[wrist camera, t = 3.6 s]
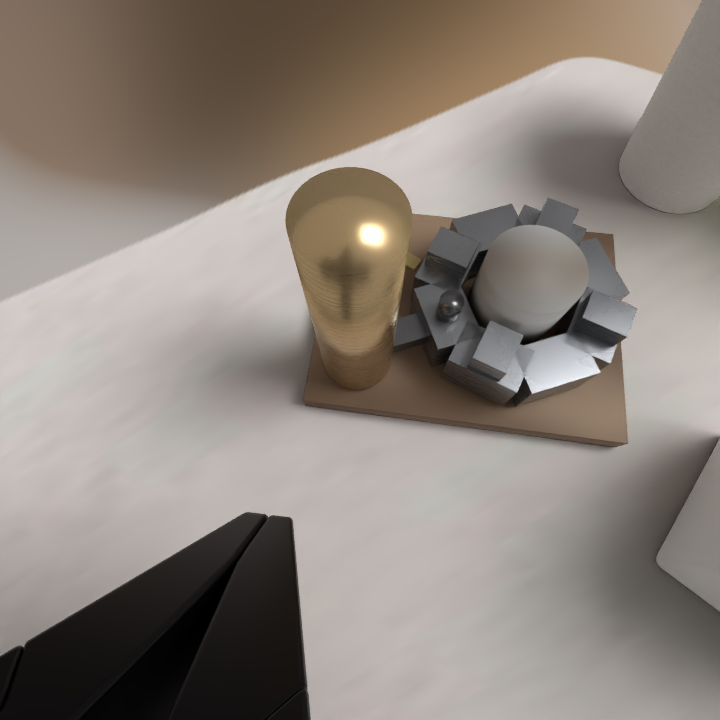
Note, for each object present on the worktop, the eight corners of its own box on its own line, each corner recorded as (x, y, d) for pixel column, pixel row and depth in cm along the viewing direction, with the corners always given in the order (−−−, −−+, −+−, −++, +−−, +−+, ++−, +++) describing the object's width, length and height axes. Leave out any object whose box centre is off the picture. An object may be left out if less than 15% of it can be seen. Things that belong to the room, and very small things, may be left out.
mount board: (615, 446, 20) (699, 422, 15) (305, 405, 21) (286, 368, 16) (603, 245, 24) (667, 171, 19) (341, 218, 25) (334, 140, 20)
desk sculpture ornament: (634, 370, 20) (870, 235, 11) (351, 458, 19) (335, 395, 9) (549, 218, 23) (676, 8, 14) (300, 286, 22) (250, 109, 12)
